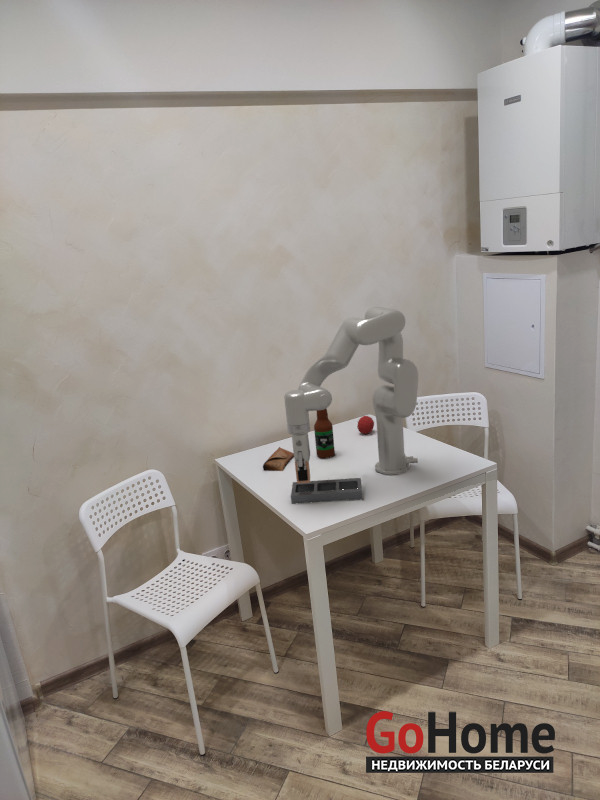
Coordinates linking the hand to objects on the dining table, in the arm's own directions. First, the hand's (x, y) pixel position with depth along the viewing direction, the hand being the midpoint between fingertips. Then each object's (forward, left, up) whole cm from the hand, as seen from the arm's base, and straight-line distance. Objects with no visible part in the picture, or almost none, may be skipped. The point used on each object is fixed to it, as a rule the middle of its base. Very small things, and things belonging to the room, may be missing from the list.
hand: (303, 476), depth 209 cm
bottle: (-7, -36, -7) cm, 37 cm away
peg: (0, 0, -1) cm, 1 cm away
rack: (-8, 0, -7) cm, 10 cm away
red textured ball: (-24, -59, -7) cm, 64 cm away
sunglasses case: (+11, -32, -8) cm, 35 cm away
